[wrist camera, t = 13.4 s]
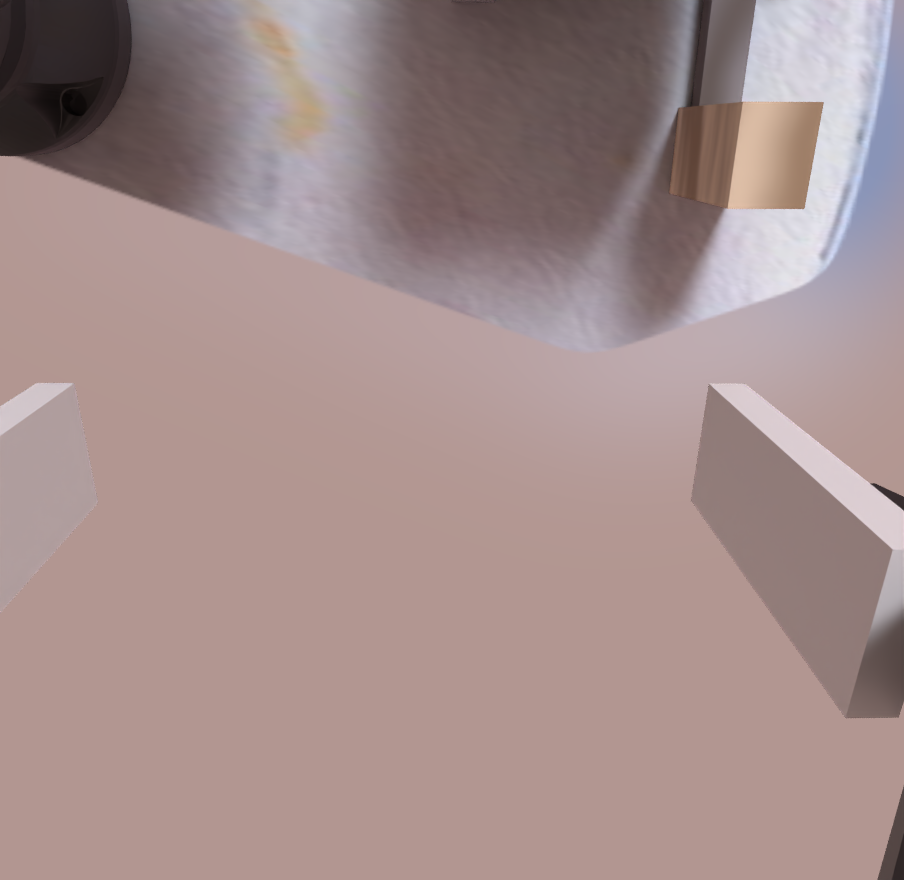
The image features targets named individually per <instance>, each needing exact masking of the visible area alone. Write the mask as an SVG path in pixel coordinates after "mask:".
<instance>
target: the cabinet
mask: <svg viewBox="0 0 904 880" xmlns="http://www.w3.org/2000/svg"><path fill="white" fill-rule="evenodd" d="M451 2H495V0H451Z"/></svg>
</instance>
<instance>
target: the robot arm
mask: <svg viewBox="0 0 904 880" xmlns="http://www.w3.org/2000/svg"><path fill="white" fill-rule="evenodd" d="M130 53H131V23H130V15H129V9H128V3H127V0H0V156H25V155H39V154H45V153H50V152H54V151H58V150H61V149H63V148H66V147H69V146H71V145H73V144H75V143H77V142H78V141H80V140H82V139H83V138H85V137H86V136H87V135H89V134H90V133H91V132H92V131H93V130H95V129H96V128H97V127H98V126H99V125H100V124H101V123H102V122H103V121H104V119H105V118H106V117H107V115H108V114H109V113H110V111H111V110H112V108H113V107H114V105H115V103H116V101H117V99H118V98H119V95H120V93H121V91H122V88H123V85H124V82H125V79H126V76H127V72H128V67H129V62H130ZM691 501H692V502H693V504H694V506H695V507H696V508H697V510H698V511H699V513H700V514H701V515H702V517H703V518H704V520H705V521H706V522H707V524H708V525H709V526H710V528H711V529H712V531H713V532H714V533H715V535H716V536H717V538H718V539H719V541H720V542H721V544H722V545H723V546H724V548H725V549H726V551H727V552H728V553H729V555H730V556H731V558H732V559H733V560H734V562H735V563H736V564H737V566H738V567H739V569H740V570H741V572H742V573H743V575H744V576H745V577H746V579H747V580H748V581H749V583H750V584H751V586H752V587H753V589H754V590H755V591H756V593H757V594H758V596H759V597H760V598H761V600H762V601H763V603H764V604H765V605H766V607H767V608H768V610H769V611H770V613H771V614H772V615H773V617H774V618H775V619H776V621H777V622H778V624H779V625H780V627H781V628H782V629H783V631H784V632H785V634H786V635H787V636H788V638H789V639H790V641H791V642H792V644H793V645H794V646H795V648H796V649H797V650H798V652H799V653H800V655H801V656H802V658H803V659H804V660H805V661H806V663H807V664H808V666H809V667H810V669H811V670H812V672H813V673H814V675H815V676H816V677H817V678H818V680H819V681H820V683H821V684H822V686H823V687H824V689H825V690H826V691H827V693H828V694H829V696H830V697H831V698H832V700H833V701H834V703H835V704H836V705H837V707H838V708H839V710H840V711H841V712H842V714H843V715H844V717H845V718H888V717H889V718H892V717H899V715H900V711H901V708H902V705H903V702H904V497H903V496H901V495H899V494H897V493H894V492H892V491H890V490H888V489H886V488H883V487H881V486H879V485H877V484H874V483H873V484H870V483H868V482H867V481H866V480H865V479H863V478H862V477H861V476H860V475H858V474H857V473H856V472H854V471H853V470H852V469H851V468H850V467H848V466H847V465H846V464H845V463H843V462H842V461H841V460H840V459H838V458H837V457H836V456H835V455H833V454H832V453H831V452H830V451H828V450H827V449H826V448H825V447H823V446H822V445H821V444H820V443H818V442H817V441H816V440H815V439H813V438H812V437H811V436H810V435H808V434H807V433H806V432H805V431H803V430H802V429H801V428H800V427H798V426H797V425H796V424H795V423H793V422H792V421H791V420H790V419H788V418H787V417H786V416H785V415H783V414H782V413H781V412H779V411H778V410H777V409H776V408H774V407H773V406H772V405H771V404H770V403H768V402H767V401H766V400H765V399H763V398H762V397H761V396H760V395H758V394H757V393H756V392H754V391H753V390H752V389H751V388H750V387H748V386H747V385H746V384H709V386H708V393H707V400H706V407H705V413H704V420H703V425H702V432H701V438H700V445H699V451H698V458H697V464H696V471H695V478H694V484H693V491H692V497H691ZM97 503H98V499H97V495H96V489H95V484H94V480H93V474H92V469H91V464H90V459H89V454H88V450H87V444H86V439H85V434H84V429H83V424H82V419H81V414H80V409H79V404H78V399H77V394H76V388H75V384H74V383H36V384H34V385H33V386H31V387H30V388H28V389H26V390H25V391H24V392H22V393H20V394H19V395H17V396H16V397H14V398H12V399H11V400H9V401H8V402H6V403H5V404H3V405H2V406H0V613H1V612H2V611H3V609H4V608H5V607H6V606H7V605H8V604H9V603H10V601H11V600H12V599H13V598H14V597H15V596H16V595H17V594H18V593H19V591H20V590H21V589H22V588H23V587H24V586H25V585H26V583H27V582H28V581H29V580H30V579H31V578H32V577H33V576H34V575H35V573H36V572H37V571H38V570H39V569H40V568H41V566H43V564H44V563H45V562H46V561H47V560H48V559H49V558H50V557H51V555H52V554H53V553H54V552H55V551H56V550H57V548H58V547H59V546H60V545H61V544H62V543H63V542H64V541H65V540H66V539H67V537H68V536H69V535H70V534H71V533H72V532H73V531H74V530H75V528H76V527H77V526H78V525H79V524H80V523H81V522H82V521H83V519H84V518H85V517H86V516H87V515H88V514H89V513H90V512H91V510H92V509H93V508H94V507H95V506H96V505H97ZM878 880H904V787H903V791H902V794H901V798H900V802H899V805H898V809H897V812H896V816H895V820H894V823H893V827H892V830H891V834H890V837H889V841H888V844H887V848H886V851H885V855H884V859H883V862H882V866H881V870H880V873H879V877H878Z"/></svg>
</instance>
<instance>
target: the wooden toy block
mask: <svg viewBox="0 0 904 880" xmlns="http://www.w3.org/2000/svg"><path fill="white" fill-rule="evenodd" d="M755 3H756V0H704V1H703V9H702V18H701V26H700V35H699V43H698V51H697V60H696V68H695V77H694V85H693V94H692V102H691V107H682V108H679V110H678V118H677V127H676V136H675V145H674V154H673V163H672V172H671V181H670V189H669V194H673V195H677V196H680V197H684V198H688V199H692V200H696V201H700V202H704V203H707V204H711V205H715V206H719V207H723V208H727V209H804V208H805V202H806V197H807V191H808V186H809V180H810V175H811V169H812V164H813V158H814V153H815V147H816V142H817V136H818V131H819V125H820V120H821V114H822V109H823V103H824V102H741V101H742V94H743V87H744V80H745V73H746V66H747V59H748V52H749V45H750V38H751V31H752V24H753V17H754V10H755Z"/></svg>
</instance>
